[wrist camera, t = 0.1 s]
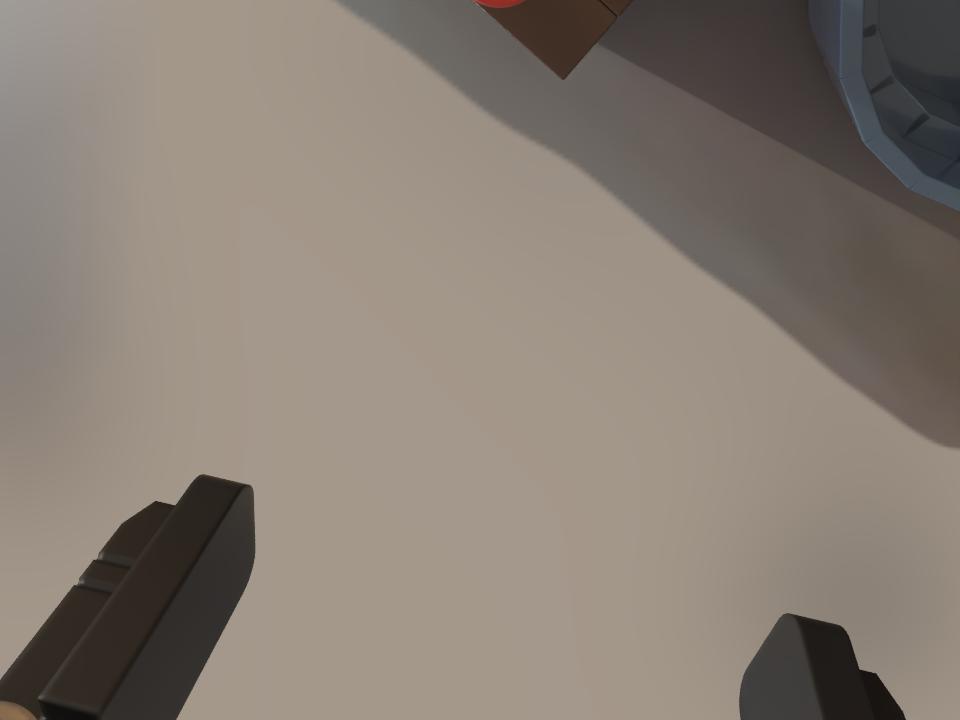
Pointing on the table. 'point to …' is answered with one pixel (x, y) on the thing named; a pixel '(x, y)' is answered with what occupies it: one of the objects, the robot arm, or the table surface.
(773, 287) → the table surface
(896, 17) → the bowl
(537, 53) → the holder
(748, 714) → the robot arm
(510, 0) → the stick
